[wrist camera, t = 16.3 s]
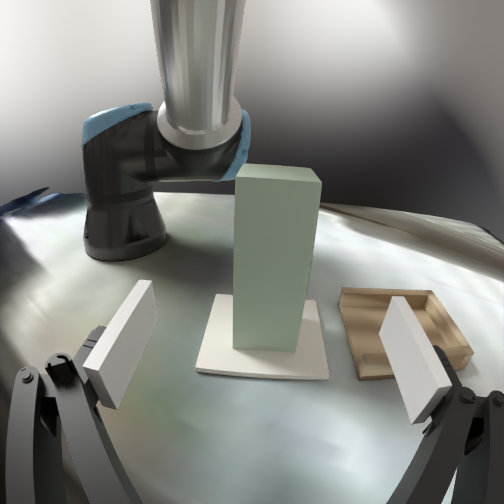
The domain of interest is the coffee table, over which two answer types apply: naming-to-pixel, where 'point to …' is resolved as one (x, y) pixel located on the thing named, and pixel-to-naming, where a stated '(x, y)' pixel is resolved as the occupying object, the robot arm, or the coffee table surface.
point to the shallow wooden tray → (371, 319)
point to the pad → (262, 362)
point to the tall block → (272, 254)
